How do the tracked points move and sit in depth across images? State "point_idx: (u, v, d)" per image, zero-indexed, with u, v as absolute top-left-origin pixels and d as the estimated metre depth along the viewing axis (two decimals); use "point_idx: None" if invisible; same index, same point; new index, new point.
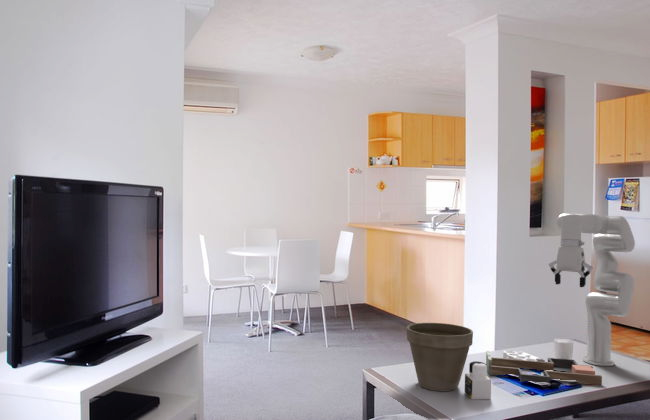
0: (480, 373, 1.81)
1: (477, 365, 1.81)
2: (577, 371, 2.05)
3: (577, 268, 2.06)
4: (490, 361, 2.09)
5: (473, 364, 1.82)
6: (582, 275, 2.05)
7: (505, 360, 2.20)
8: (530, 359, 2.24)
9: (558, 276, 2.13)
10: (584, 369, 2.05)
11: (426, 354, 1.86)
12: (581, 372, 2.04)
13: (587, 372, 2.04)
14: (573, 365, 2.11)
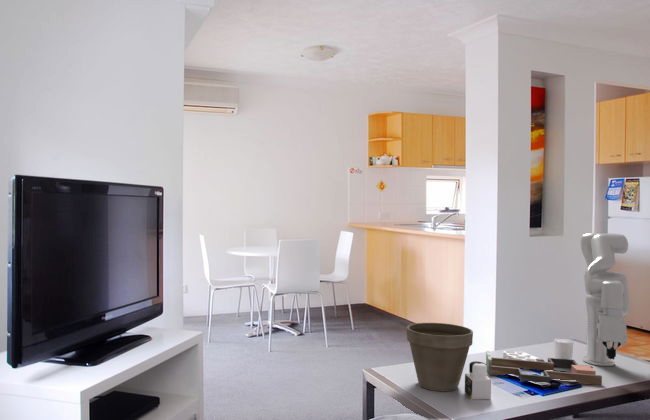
0: (480, 373, 1.81)
1: (477, 365, 1.81)
2: (578, 371, 2.04)
3: None
4: (490, 361, 2.09)
5: (473, 364, 1.82)
6: None
7: (505, 360, 2.20)
8: (530, 359, 2.24)
9: None
10: (584, 369, 2.05)
11: (426, 354, 1.86)
12: (582, 372, 2.04)
13: (588, 372, 2.04)
14: (573, 365, 2.10)
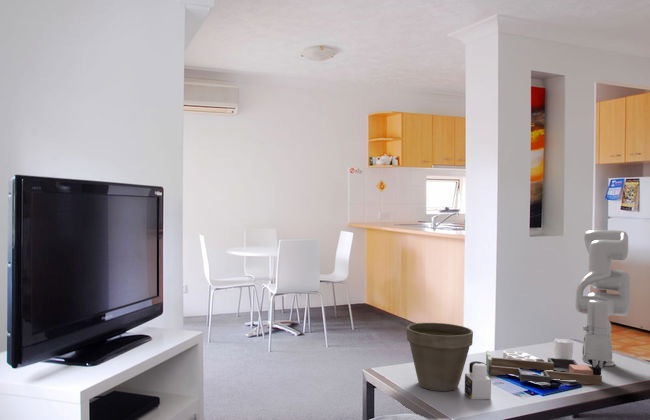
0: (480, 373, 1.81)
1: (477, 365, 1.81)
2: (575, 371, 2.05)
3: None
4: (490, 361, 2.09)
5: (473, 364, 1.82)
6: None
7: (505, 360, 2.20)
8: (530, 359, 2.24)
9: None
10: (582, 369, 2.06)
11: (426, 354, 1.86)
12: (579, 372, 2.05)
13: (585, 371, 2.04)
14: (570, 365, 2.11)
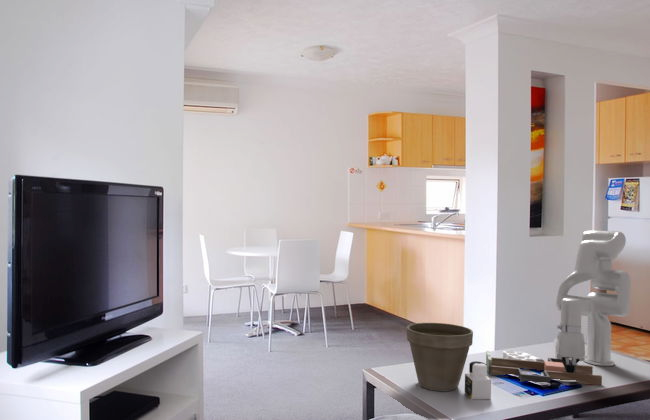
0: (480, 373, 1.81)
1: (477, 365, 1.81)
2: (547, 367, 2.09)
3: None
4: (490, 361, 2.09)
5: (473, 364, 1.82)
6: None
7: (505, 360, 2.20)
8: (529, 359, 2.24)
9: None
10: (554, 365, 2.09)
11: (426, 354, 1.86)
12: (551, 368, 2.08)
13: (557, 368, 2.08)
14: (545, 361, 2.15)
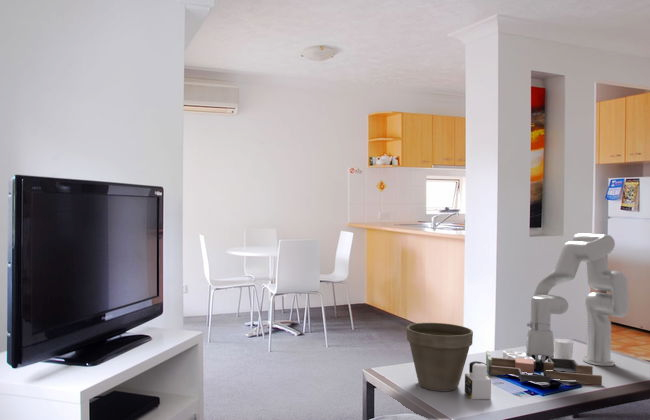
0: (480, 373, 1.81)
1: (477, 365, 1.81)
2: (517, 364, 2.12)
3: None
4: (490, 361, 2.09)
5: (473, 364, 1.82)
6: None
7: (505, 360, 2.20)
8: None
9: None
10: (524, 362, 2.13)
11: (426, 354, 1.86)
12: (520, 365, 2.12)
13: (526, 365, 2.11)
14: (516, 358, 2.18)
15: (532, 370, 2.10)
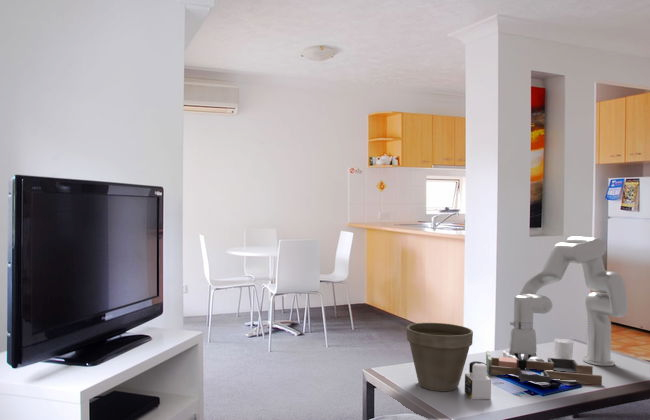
0: (480, 373, 1.81)
1: (477, 365, 1.81)
2: (500, 362, 2.14)
3: None
4: (490, 361, 2.09)
5: (473, 364, 1.82)
6: None
7: None
8: (529, 359, 2.24)
9: None
10: (507, 360, 2.14)
11: (426, 354, 1.86)
12: (504, 363, 2.13)
13: (509, 363, 2.13)
14: (499, 357, 2.20)
15: None
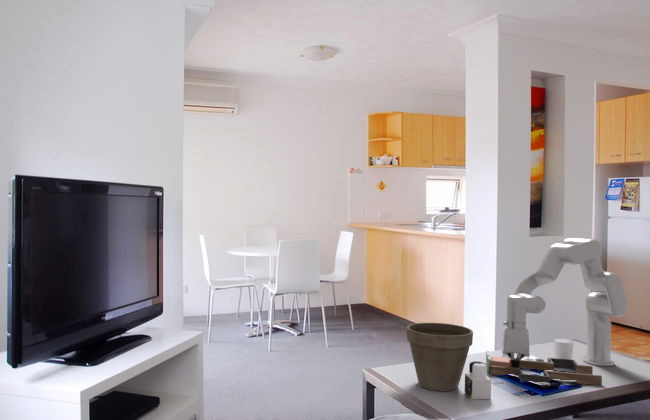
0: (480, 373, 1.81)
1: (477, 365, 1.81)
2: (493, 362, 2.15)
3: None
4: (490, 361, 2.09)
5: (473, 364, 1.82)
6: None
7: None
8: (529, 359, 2.24)
9: None
10: (500, 360, 2.15)
11: (426, 354, 1.86)
12: (497, 363, 2.14)
13: (502, 363, 2.13)
14: (493, 357, 2.20)
15: None
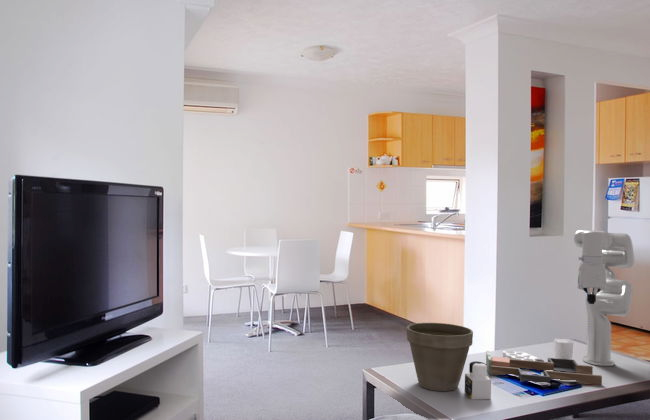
0: (480, 373, 1.81)
1: (477, 365, 1.81)
2: (493, 362, 2.15)
3: None
4: (490, 361, 2.09)
5: (473, 364, 1.82)
6: None
7: None
8: (529, 359, 2.24)
9: None
10: (500, 360, 2.15)
11: (426, 354, 1.86)
12: (497, 363, 2.14)
13: (502, 363, 2.13)
14: (493, 357, 2.20)
15: None
